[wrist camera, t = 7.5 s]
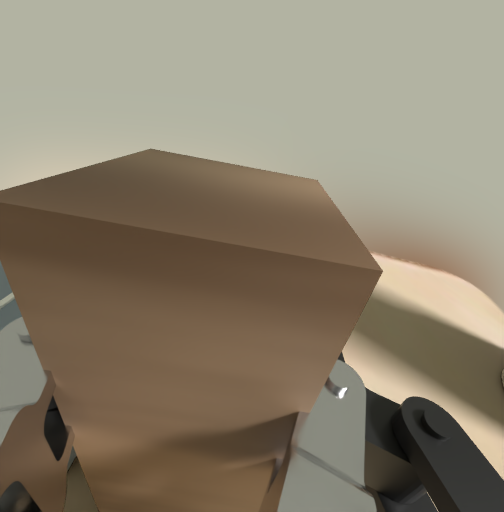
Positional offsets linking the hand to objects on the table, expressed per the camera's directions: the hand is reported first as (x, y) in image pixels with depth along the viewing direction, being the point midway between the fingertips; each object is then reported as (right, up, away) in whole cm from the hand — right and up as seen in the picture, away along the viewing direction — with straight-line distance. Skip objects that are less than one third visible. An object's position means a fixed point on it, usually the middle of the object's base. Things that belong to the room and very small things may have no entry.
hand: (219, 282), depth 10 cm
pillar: (-1, -7, +1) cm, 7 cm away
